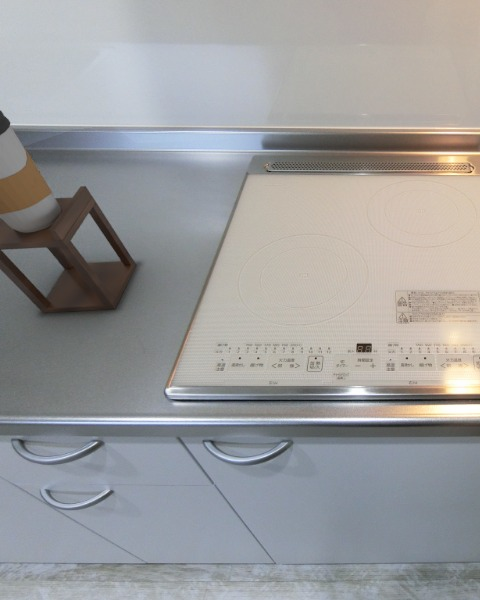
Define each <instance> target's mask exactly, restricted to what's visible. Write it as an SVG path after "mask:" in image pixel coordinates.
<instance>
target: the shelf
mask: <svg viewBox="0 0 480 600" xmlns="http://www.w3.org/2000/svg"><path fill="white" fill-rule="evenodd" d="M55 199H56V201H57V202H58V204H59V205H60V207H61V214H60V215H59V217H58V218H57V220H56V221H55V222H54V224H52V225H51V226H49V227H47V228H45V229H42V230H39V231H35V232H29V233H24V232H19V231H17V230H15V229H12V228H11V227H10V226H9V225H8V224H7V223H6V222H5V221H4V220H3V219H2V218H1V217H0V271H1V272H2V273H3V274H4V275H5V276H6V277H7V278H8V279H9V280H10V281H11V282H12V283H13V284H14V285H15V286H16V287H17V288H18V289H19V290H20V291H21V292H22V293H23V294H24V295H25V296H26V297H27V298H28V299H29V300H30V301H31V302H32V303H33V304H34V305H35V306H36V307H37V309H39V311H41V312H42V314H48V313H49V314H50V313H66V312H67V313H69V312H85V311H103V310H116V308H117V306H118V304H119V302H120V300H121V298H122V296H123V293H124V291H125V289H126V287H127V285H128V283H129V282H130V279H131V277H132V275H133V273H134V271H135V268H136V266H137V264H136V262H135V260H134V258H133V257H132V255H131V254H130V253H129V251H128V249H127V248H126V246H125V244H124V243H123V242H122V240H121V238H120V237H119V235H118V233H117V232H116V231H115V229H114V228H113V226H112V225H111V223H110V221H109V220H108V218H107V216H106V215H105V213H104V212H103V210H102V209H101V207H100V206H99V204H98V202H97V201H96V200H95V198H94V196H93V195H92V193H91V192H90V190H89V189H88V187H87V186H86V185H81V186H79V188H78V189H77V191H76V192H75V193H74V195H73V196H72V197H71V196H70V197H55ZM88 215H90V217H91V218H92V220H93V221H94V223H95V224H96V226H97V227H98V229H99V231H100V232H101V233H102V235H103V237H104V238H105V239H106V241H107V242H108V244H109V245H110V246H111V248H112V249H113V251H114V252H115V254H116V255H117V257H118V259H119V260H120V261H117V260H116V261H97V262H88V261H86V259H85V257H84V256H83V255H82V254H81V252H80V251H79V250H78V248H77V247H76V246H75V245H74V243H73V242H72V240H73V238H74V236H75V235H76V233H77V232H78V231H79V229H80V227H81V226H82V224H83V223H84V221H85V219H86V218H87V217H88ZM43 248H45V249H48V251H49V252H50V254H52V256H53V257H54V258H55V260H56V261H57V262H58V263H59V264H60V265H61V267H62V268H63V271H62V272H61V274H60V275H59V277H58V278H57V280H56V281H55V283H54V285H53V286H52V288H51V290H50V291H49V293H48V294H47V296H45V295H44V294H43V293H42V292H41V291H40V290H39V288H38V287H36V286H35V284H34V283H33V282H32V281H31V280H30V279H29V278H28V277H27V276H26V275H25V273H23V271H21V269H20V268H19V267H17V265H16V264H15V263H14V262H13V261H12V259H10V258H9V257H8V256H7V254H5V252H4V251H5V250H23V249H24V250H25V249H27V250H28V249H43Z"/></svg>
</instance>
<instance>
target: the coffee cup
mask: <svg viewBox="0 0 480 600" xmlns="http://www.w3.org/2000/svg"><path fill="white" fill-rule="evenodd" d="M10 121H11V120H10V119H9V118H8V117H6V116H5V114H4V113H3V111H2V110H0V218H2V219H3V220H4V221H5V222H6V223H7V224H8V225H9V226H10V227H11V228H12V229H15V230H17V231H19V232H24V233H29V232H35V231H39V230H42V229H45V228H47V227H49V226H51V225H52V224H54V222H55V221H56V220H57V218H58V217H59V215H60V214H61V207H60V205H59V204H58V202H57V201H56V199H55V198H56V197H55V196H54V194H53V191H52V189H51V188H50V186H49V184H48V183H47V181H46V179H45V177H44V176H43V175H42V173H41V171H40V170H39V168H38V166H37V165H36V164H35V162H34V160H33V158H32V157H31V155H30V154H29V152H28V150H27V148H26V147H25V146H24V145H23V144H22V142H21V140H20V139H19V137H18V135H17V134H16V133H15V131H14V129H13V128H12V125H11V122H10Z"/></svg>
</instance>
